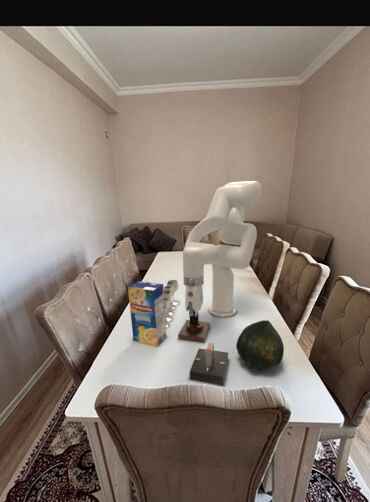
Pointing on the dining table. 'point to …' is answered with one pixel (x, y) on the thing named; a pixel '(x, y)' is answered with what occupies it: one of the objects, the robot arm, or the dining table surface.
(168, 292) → the goblet set
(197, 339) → the switch block
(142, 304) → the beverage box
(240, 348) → the squash
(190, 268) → the robot arm
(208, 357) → the brew dial
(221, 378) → the control panel
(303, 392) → the dining table surface
